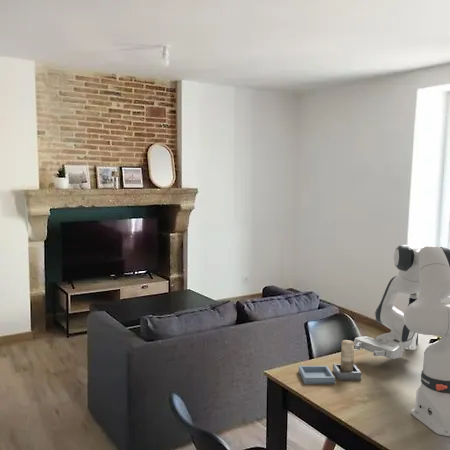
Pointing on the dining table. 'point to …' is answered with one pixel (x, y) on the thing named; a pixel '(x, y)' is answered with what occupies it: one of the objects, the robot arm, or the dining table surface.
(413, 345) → the beer glass
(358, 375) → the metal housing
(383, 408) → the dining table surface
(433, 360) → the robot arm
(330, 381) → the tray
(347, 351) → the peg
